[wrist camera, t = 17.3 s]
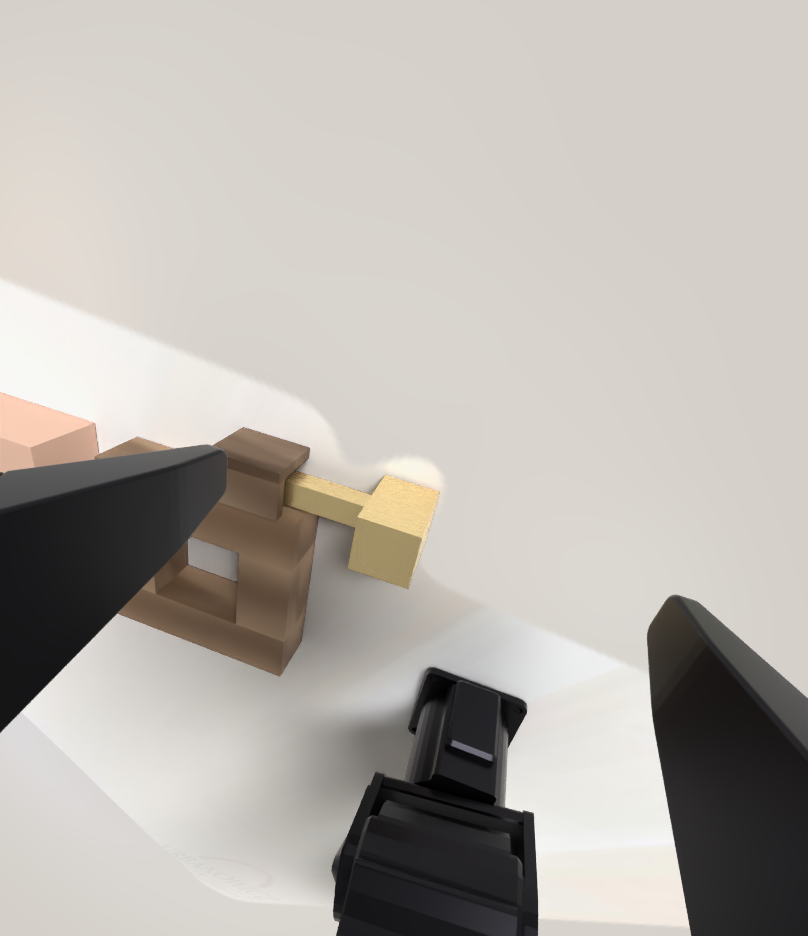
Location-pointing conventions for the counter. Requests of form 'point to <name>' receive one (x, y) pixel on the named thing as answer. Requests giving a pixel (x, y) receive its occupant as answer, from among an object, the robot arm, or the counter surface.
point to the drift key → (372, 521)
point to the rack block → (42, 436)
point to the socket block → (239, 560)
